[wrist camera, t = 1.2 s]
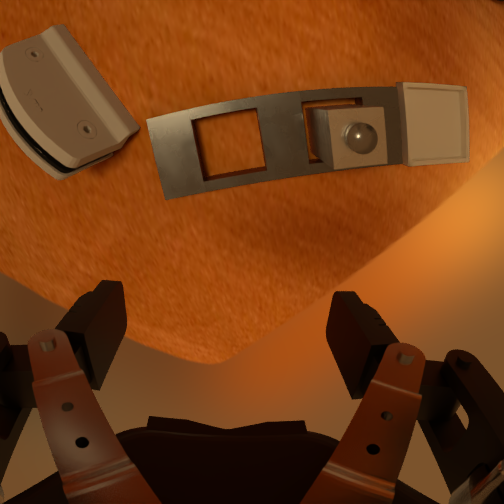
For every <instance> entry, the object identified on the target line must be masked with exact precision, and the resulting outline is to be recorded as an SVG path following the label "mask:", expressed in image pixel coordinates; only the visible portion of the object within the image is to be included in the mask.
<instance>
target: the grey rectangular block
mask: <svg viewBox="0 0 504 504" xmlns="http://www.w3.org/2000/svg"><path fill="white" fill-rule="evenodd" d="M305 113H306V120H307V128H308V135H309V143H310V151H311V153H312V154H313V155H315V156H316V157H318V158H319V159H320V160H322V161H323V162H325V163H326V164H327V165H329V166H330V167H331V168H333V169H342V168H351V167H359V166H368V165H378V164H388V163H387V144H386V130H385V118H384V108H383V107H379V106H368V105H355V104H342V105H329V106H317V107H307V108H305Z"/></svg>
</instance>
